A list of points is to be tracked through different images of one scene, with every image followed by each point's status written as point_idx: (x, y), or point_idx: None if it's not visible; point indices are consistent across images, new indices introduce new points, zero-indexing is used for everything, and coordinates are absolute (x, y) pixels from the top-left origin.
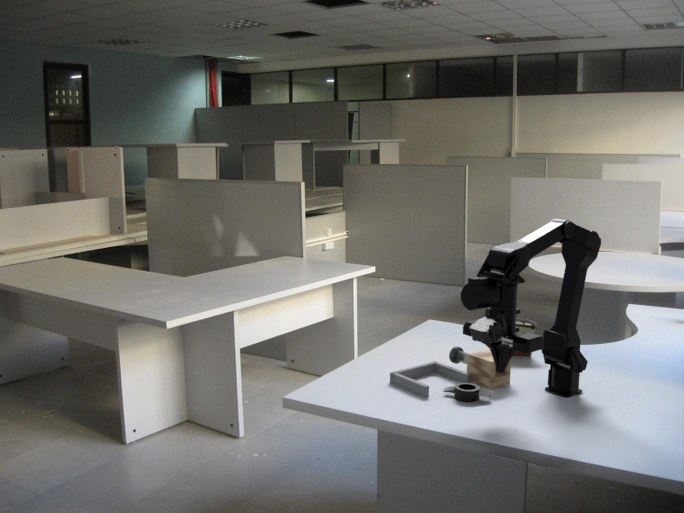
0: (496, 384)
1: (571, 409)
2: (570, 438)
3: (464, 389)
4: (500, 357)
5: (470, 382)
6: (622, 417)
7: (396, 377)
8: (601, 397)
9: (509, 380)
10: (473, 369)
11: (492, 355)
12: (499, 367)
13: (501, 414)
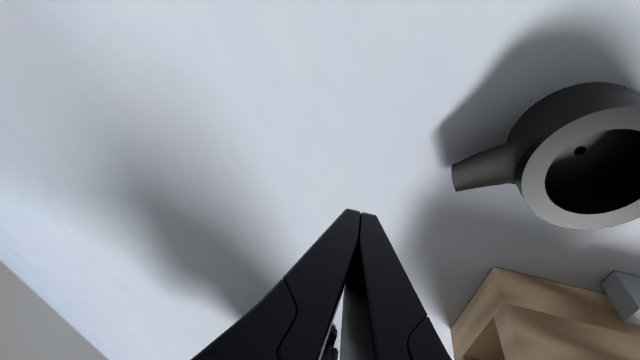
0: (482, 299)
1: (202, 249)
2: (22, 28)
3: (612, 186)
4: (298, 312)
5: (603, 287)
6: (99, 264)
7: None
8: (212, 338)
9: (453, 340)
10: (623, 347)
11: (437, 342)
12: (344, 234)
13: (337, 65)
